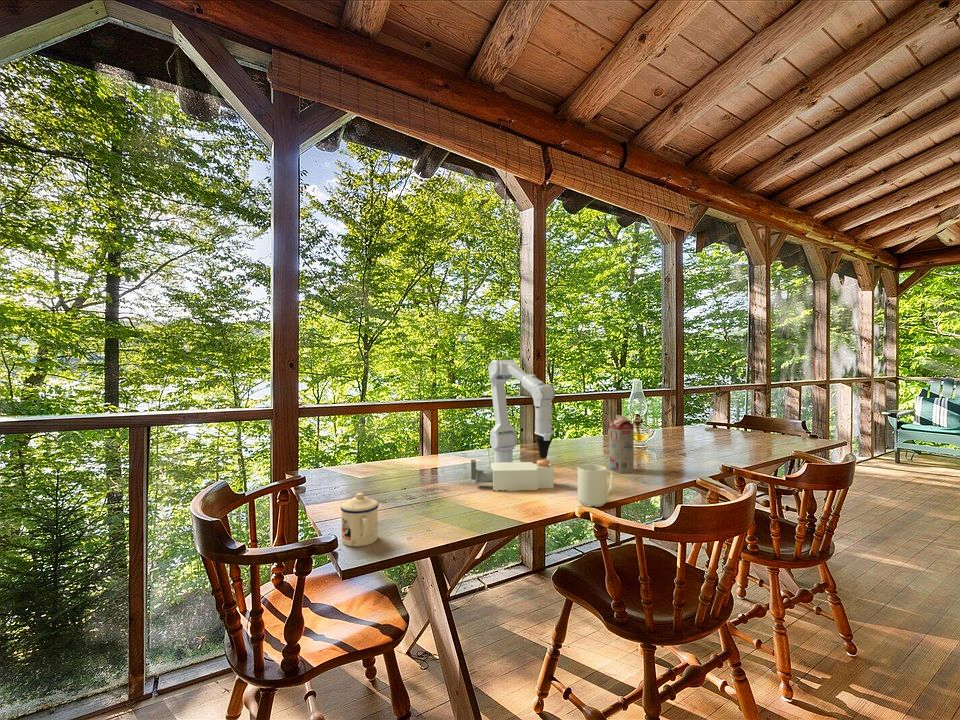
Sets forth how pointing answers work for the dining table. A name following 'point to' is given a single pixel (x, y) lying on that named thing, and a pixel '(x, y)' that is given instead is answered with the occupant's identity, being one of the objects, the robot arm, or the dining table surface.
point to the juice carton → (621, 445)
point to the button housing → (521, 476)
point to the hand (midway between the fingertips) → (543, 457)
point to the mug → (593, 484)
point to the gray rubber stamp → (480, 474)
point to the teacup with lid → (359, 521)
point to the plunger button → (543, 463)
